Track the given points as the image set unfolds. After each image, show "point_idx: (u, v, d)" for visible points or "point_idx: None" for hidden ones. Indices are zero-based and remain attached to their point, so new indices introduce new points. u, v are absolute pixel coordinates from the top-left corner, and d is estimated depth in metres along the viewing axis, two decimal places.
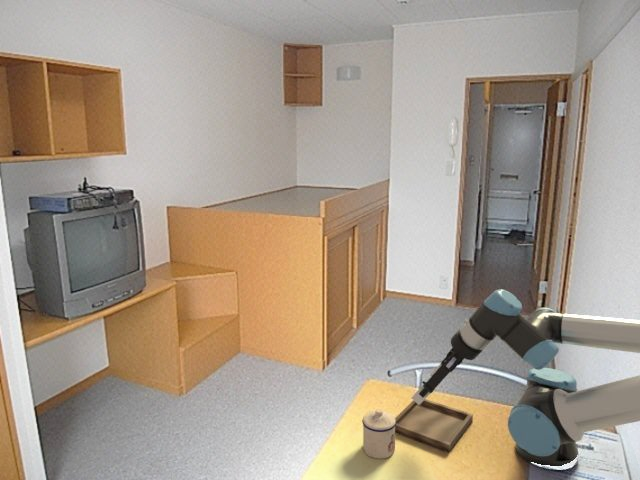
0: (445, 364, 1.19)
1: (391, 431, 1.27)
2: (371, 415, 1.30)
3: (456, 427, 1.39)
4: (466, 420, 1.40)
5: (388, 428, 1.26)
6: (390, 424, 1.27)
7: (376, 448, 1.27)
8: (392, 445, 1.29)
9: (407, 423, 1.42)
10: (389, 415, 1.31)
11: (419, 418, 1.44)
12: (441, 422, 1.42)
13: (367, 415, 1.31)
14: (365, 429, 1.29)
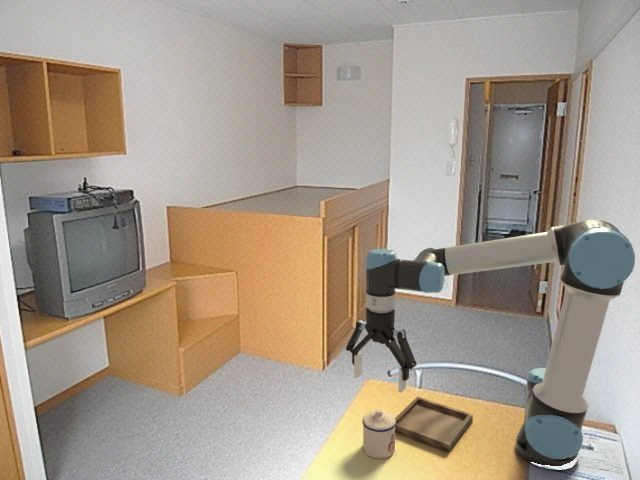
0: (402, 338, 1.22)
1: (391, 431, 1.27)
2: (371, 415, 1.30)
3: (456, 427, 1.39)
4: (466, 420, 1.40)
5: (388, 428, 1.26)
6: (390, 424, 1.27)
7: (376, 448, 1.27)
8: (392, 445, 1.29)
9: (407, 423, 1.42)
10: (389, 415, 1.31)
11: (419, 418, 1.44)
12: (441, 422, 1.42)
13: (367, 415, 1.31)
14: (365, 429, 1.29)
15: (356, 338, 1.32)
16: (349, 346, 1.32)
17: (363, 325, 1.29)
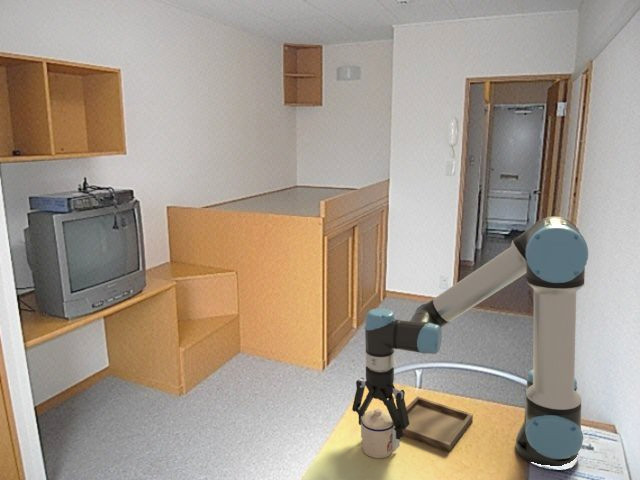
0: (400, 399, 1.25)
1: (390, 431, 1.28)
2: (370, 415, 1.30)
3: (456, 427, 1.39)
4: (466, 420, 1.40)
5: (387, 428, 1.27)
6: (389, 424, 1.27)
7: (375, 447, 1.27)
8: (391, 444, 1.29)
9: None
10: (388, 415, 1.31)
11: (419, 418, 1.44)
12: (441, 422, 1.42)
13: (366, 415, 1.31)
14: (364, 429, 1.29)
15: (360, 397, 1.34)
16: (355, 406, 1.34)
17: (363, 383, 1.32)
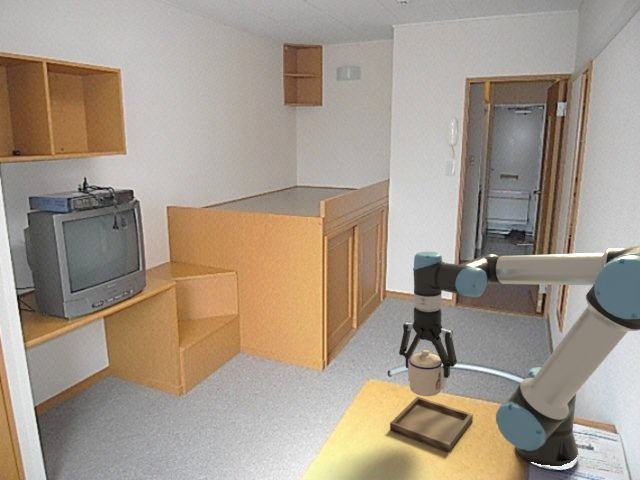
0: (449, 337, 1.30)
1: (438, 369, 1.32)
2: (418, 355, 1.34)
3: (456, 427, 1.39)
4: (466, 420, 1.40)
5: (436, 366, 1.31)
6: (437, 362, 1.32)
7: (424, 386, 1.32)
8: (439, 383, 1.33)
9: (407, 423, 1.42)
10: (434, 355, 1.36)
11: (419, 418, 1.44)
12: (441, 422, 1.42)
13: (413, 356, 1.36)
14: (413, 368, 1.33)
15: (407, 341, 1.38)
16: (402, 350, 1.39)
17: (410, 326, 1.36)
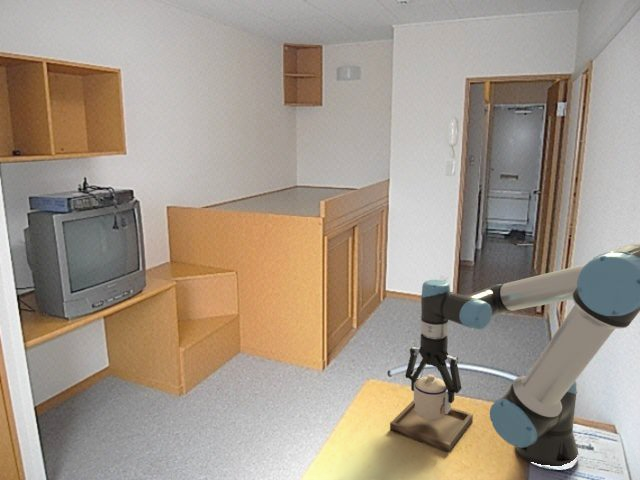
0: (454, 365, 1.33)
1: (443, 394, 1.35)
2: (423, 380, 1.38)
3: (456, 427, 1.39)
4: (466, 420, 1.40)
5: (441, 391, 1.34)
6: (442, 388, 1.35)
7: (429, 410, 1.35)
8: (443, 408, 1.37)
9: (407, 423, 1.42)
10: (440, 380, 1.39)
11: (419, 418, 1.44)
12: (441, 422, 1.42)
13: (419, 380, 1.39)
14: (418, 392, 1.37)
15: (413, 364, 1.42)
16: (408, 373, 1.42)
17: (417, 350, 1.40)
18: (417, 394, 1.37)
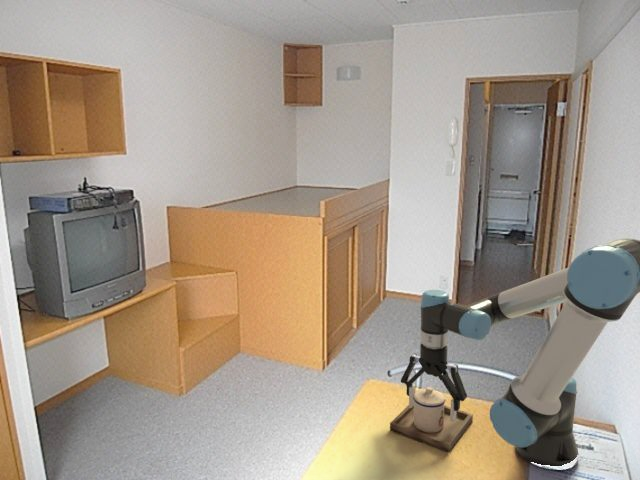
0: (455, 372, 1.33)
1: (441, 407, 1.36)
2: (422, 392, 1.39)
3: (456, 427, 1.39)
4: (466, 420, 1.40)
5: (439, 404, 1.35)
6: (440, 400, 1.36)
7: (427, 423, 1.36)
8: (442, 420, 1.38)
9: (407, 423, 1.42)
10: (438, 392, 1.40)
11: None
12: None
13: (417, 392, 1.40)
14: (416, 405, 1.38)
15: (410, 371, 1.43)
16: (404, 379, 1.43)
17: (417, 359, 1.40)
18: (416, 407, 1.38)
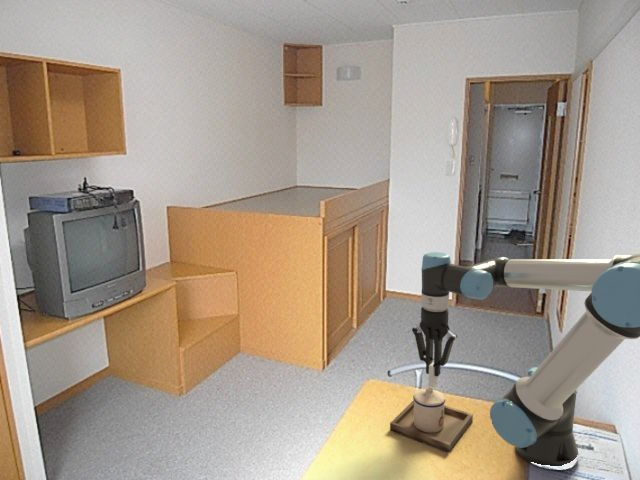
0: (452, 342, 1.32)
1: (441, 407, 1.36)
2: (422, 392, 1.39)
3: (456, 427, 1.39)
4: (466, 420, 1.40)
5: (439, 404, 1.35)
6: (440, 400, 1.36)
7: (427, 423, 1.36)
8: (442, 420, 1.38)
9: (407, 423, 1.42)
10: (438, 392, 1.40)
11: None
12: None
13: (417, 393, 1.40)
14: (416, 405, 1.38)
15: (422, 344, 1.39)
16: (421, 355, 1.38)
17: (419, 327, 1.38)
18: (416, 407, 1.38)
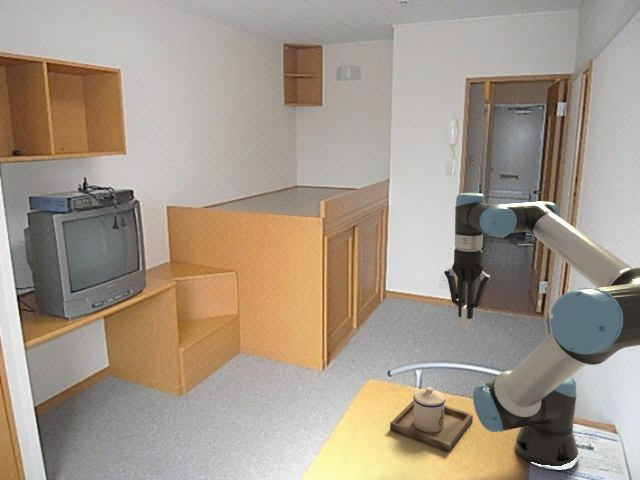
0: (486, 282, 1.32)
1: (441, 407, 1.36)
2: (422, 392, 1.39)
3: (456, 427, 1.39)
4: (466, 420, 1.40)
5: (439, 404, 1.35)
6: (440, 400, 1.36)
7: (427, 423, 1.36)
8: (442, 420, 1.38)
9: (407, 423, 1.42)
10: (438, 392, 1.40)
11: None
12: None
13: (417, 393, 1.40)
14: (416, 405, 1.38)
15: (454, 287, 1.38)
16: (454, 298, 1.38)
17: (451, 270, 1.38)
18: (416, 407, 1.38)
